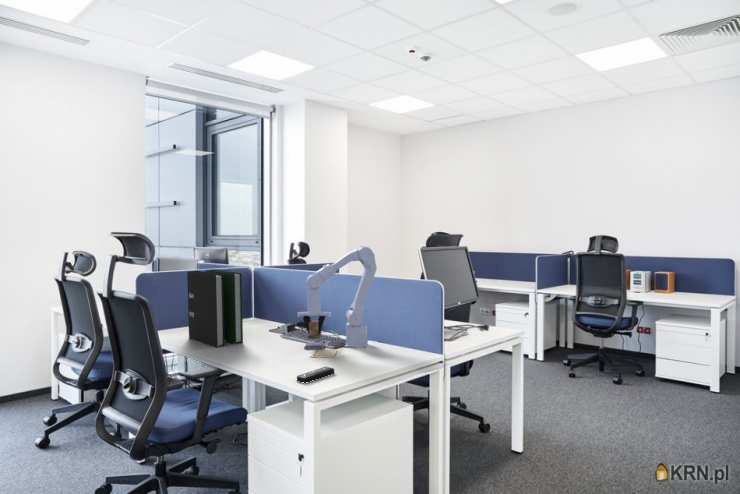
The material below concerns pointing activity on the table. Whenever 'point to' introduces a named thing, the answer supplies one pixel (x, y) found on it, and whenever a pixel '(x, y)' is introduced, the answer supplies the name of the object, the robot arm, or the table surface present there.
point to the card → (325, 353)
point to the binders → (215, 307)
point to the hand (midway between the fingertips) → (314, 333)
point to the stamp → (314, 330)
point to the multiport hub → (315, 374)
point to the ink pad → (314, 346)
